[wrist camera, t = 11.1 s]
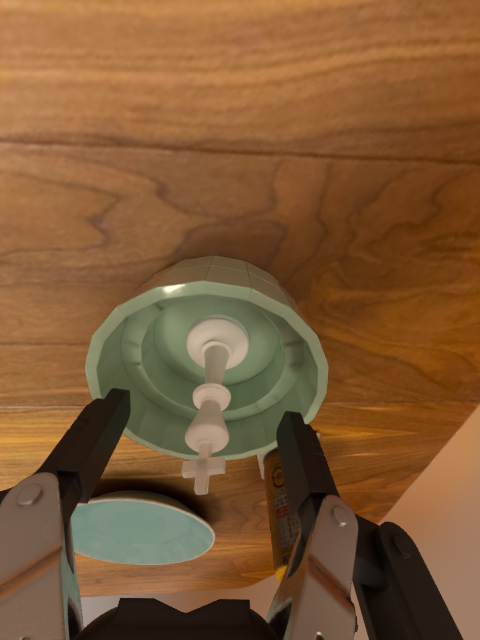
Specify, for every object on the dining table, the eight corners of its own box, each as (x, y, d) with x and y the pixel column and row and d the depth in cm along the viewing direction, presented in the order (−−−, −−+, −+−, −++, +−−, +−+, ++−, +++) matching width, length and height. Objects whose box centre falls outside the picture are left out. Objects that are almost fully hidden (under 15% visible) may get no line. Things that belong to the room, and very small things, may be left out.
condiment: (261, 477, 28) (279, 645, 17) (253, 437, 24) (269, 625, 13) (317, 470, 27) (371, 638, 17) (319, 429, 23) (390, 616, 13)
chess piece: (253, 360, 18) (273, 513, 9) (196, 369, 18) (160, 526, 9) (243, 308, 15) (257, 443, 7) (178, 319, 16) (107, 463, 7)
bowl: (104, 269, 14) (29, 305, 9) (297, 240, 14) (337, 261, 9) (163, 402, 21) (139, 469, 15) (298, 386, 20) (322, 450, 15)
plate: (100, 547, 37) (90, 571, 34) (27, 481, 27) (6, 509, 24) (225, 537, 36) (225, 561, 34) (202, 466, 26) (198, 494, 23)
